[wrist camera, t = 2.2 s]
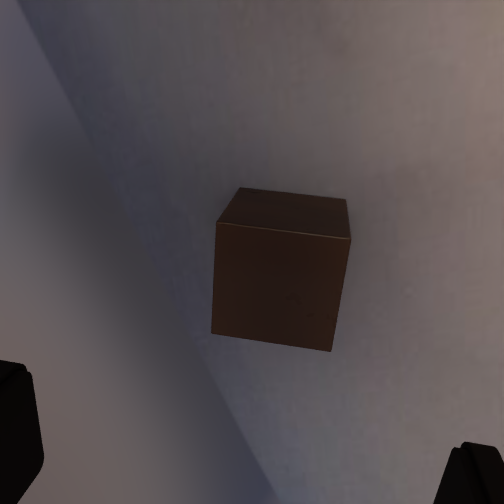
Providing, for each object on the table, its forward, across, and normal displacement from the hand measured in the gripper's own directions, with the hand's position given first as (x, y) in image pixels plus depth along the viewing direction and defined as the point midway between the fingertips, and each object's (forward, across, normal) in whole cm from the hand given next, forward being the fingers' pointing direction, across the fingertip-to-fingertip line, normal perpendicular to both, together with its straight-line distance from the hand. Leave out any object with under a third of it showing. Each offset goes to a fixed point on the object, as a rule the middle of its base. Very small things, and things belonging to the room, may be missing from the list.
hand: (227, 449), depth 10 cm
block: (+13, 0, 0) cm, 13 cm away
